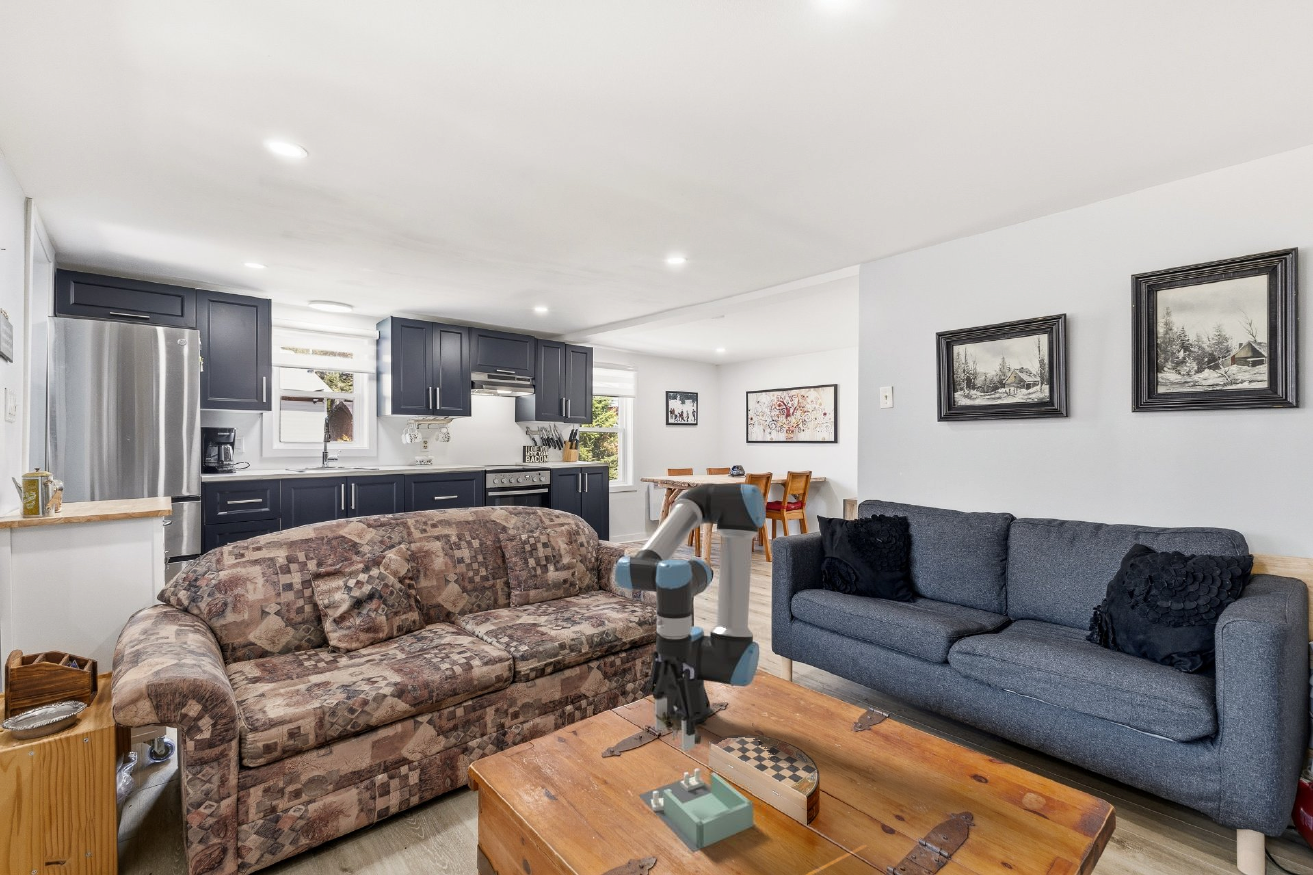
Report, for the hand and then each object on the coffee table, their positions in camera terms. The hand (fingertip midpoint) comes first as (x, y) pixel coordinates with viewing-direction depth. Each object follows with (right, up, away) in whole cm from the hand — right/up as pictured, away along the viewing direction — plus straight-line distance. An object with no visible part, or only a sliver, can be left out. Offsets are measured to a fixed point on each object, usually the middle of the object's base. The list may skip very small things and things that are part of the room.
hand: (674, 738), depth 131 cm
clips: (+1, -13, +1) cm, 13 cm away
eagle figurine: (+1, -1, +1) cm, 2 cm away
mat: (+4, -13, -4) cm, 14 cm away
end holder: (+6, -13, -6) cm, 16 cm away
